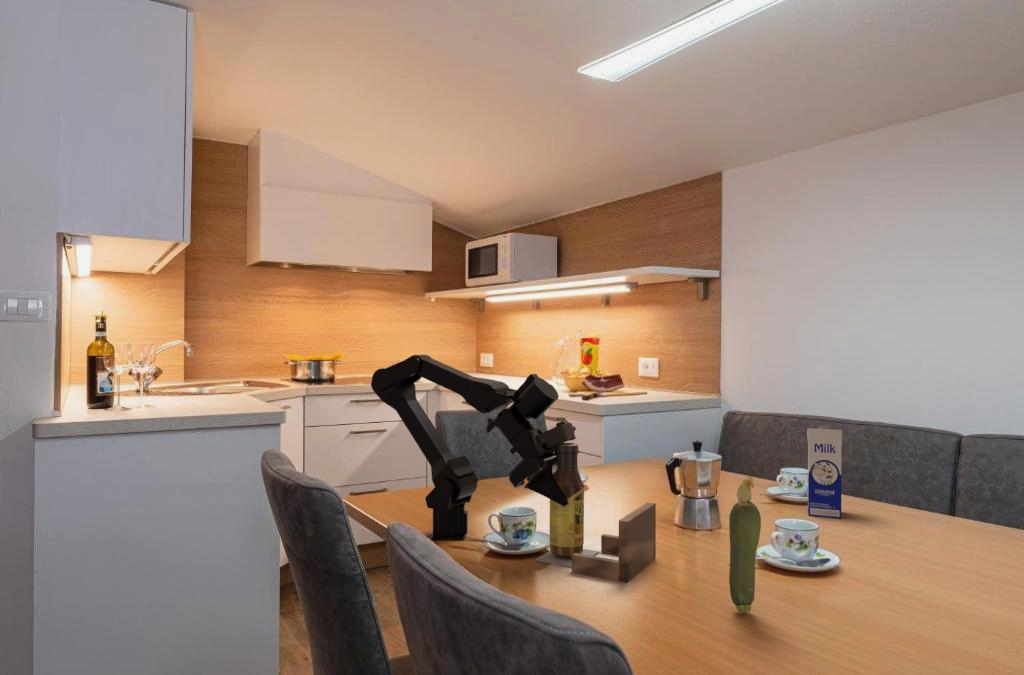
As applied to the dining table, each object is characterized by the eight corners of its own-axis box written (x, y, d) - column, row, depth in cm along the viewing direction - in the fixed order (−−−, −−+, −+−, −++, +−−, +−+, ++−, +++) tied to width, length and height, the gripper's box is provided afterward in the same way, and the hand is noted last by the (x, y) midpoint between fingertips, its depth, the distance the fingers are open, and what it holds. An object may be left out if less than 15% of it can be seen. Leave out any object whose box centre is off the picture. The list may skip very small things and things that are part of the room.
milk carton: (807, 515, 157) (807, 427, 157) (806, 508, 163) (807, 423, 163) (842, 518, 154) (842, 428, 154) (840, 511, 161) (840, 425, 161)
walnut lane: (571, 572, 119) (571, 513, 119) (603, 549, 131) (603, 496, 131) (627, 582, 114) (627, 521, 114) (655, 558, 126) (655, 503, 126)
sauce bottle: (581, 559, 123) (582, 447, 123) (546, 557, 124) (547, 446, 124) (585, 548, 130) (586, 442, 129) (552, 545, 131) (552, 440, 131)
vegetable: (724, 606, 104) (725, 472, 104) (752, 605, 104) (753, 472, 104) (736, 618, 100) (737, 478, 100) (765, 617, 100) (766, 478, 100)
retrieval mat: (535, 561, 125) (535, 559, 125) (560, 546, 133) (560, 544, 133) (576, 568, 121) (576, 566, 121) (598, 553, 129) (598, 551, 129)
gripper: (525, 411, 121) (582, 482, 115) (570, 403, 137) (622, 464, 132) (486, 452, 125) (539, 523, 119) (534, 439, 141) (583, 500, 136)
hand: (574, 500), depth 126 cm, fingers closed on sauce bottle, 6 cm apart
